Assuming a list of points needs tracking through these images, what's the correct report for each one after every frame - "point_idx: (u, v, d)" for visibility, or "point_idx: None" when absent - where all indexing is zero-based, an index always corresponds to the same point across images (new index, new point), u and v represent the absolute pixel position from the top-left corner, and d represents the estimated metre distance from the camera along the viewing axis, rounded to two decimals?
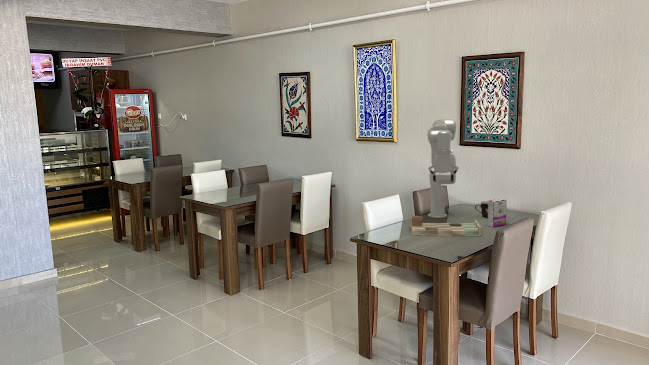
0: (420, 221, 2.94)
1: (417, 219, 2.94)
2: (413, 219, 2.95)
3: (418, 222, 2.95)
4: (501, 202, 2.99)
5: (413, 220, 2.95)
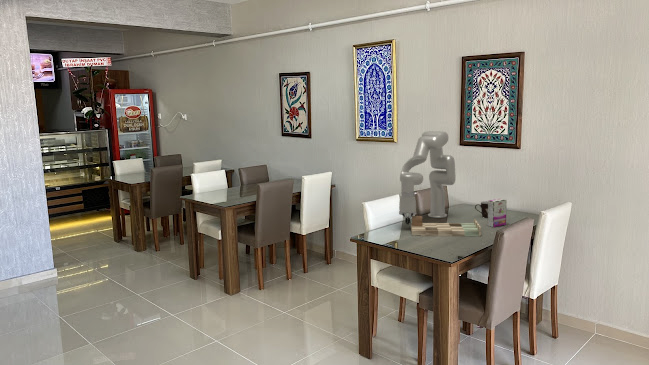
0: (420, 221, 2.94)
1: (417, 219, 2.94)
2: (413, 219, 2.95)
3: (418, 222, 2.95)
4: (501, 202, 2.99)
5: (413, 220, 2.95)
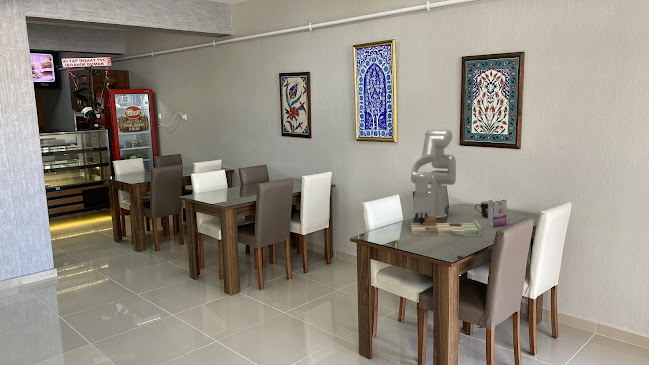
0: (434, 221, 2.93)
1: (431, 219, 2.93)
2: (427, 219, 2.93)
3: (432, 222, 2.93)
4: (501, 202, 2.99)
5: (427, 220, 2.93)
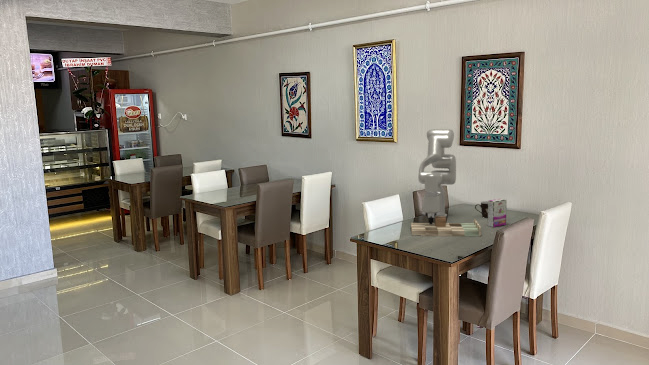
0: (444, 221, 2.91)
1: (441, 219, 2.92)
2: (436, 219, 2.92)
3: (442, 222, 2.92)
4: (501, 202, 2.99)
5: (437, 220, 2.92)
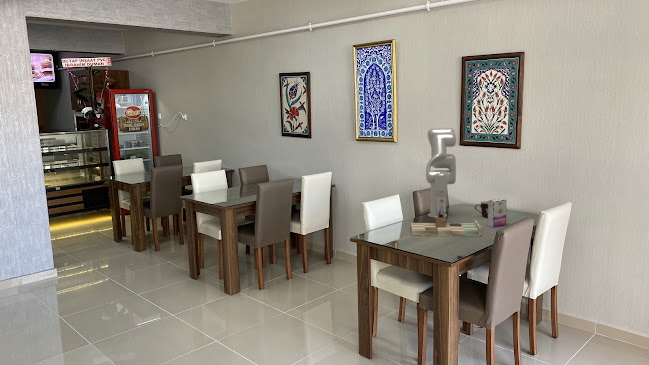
0: (444, 222, 2.90)
1: (441, 220, 2.90)
2: (437, 220, 2.90)
3: (442, 223, 2.90)
4: (501, 202, 2.99)
5: (437, 221, 2.90)
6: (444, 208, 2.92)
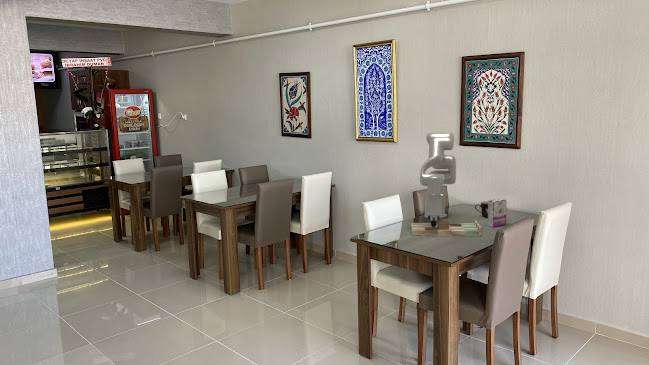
0: (447, 224, 2.85)
1: (444, 222, 2.85)
2: (439, 222, 2.85)
3: (445, 225, 2.85)
4: (501, 202, 2.99)
5: (440, 223, 2.85)
6: None
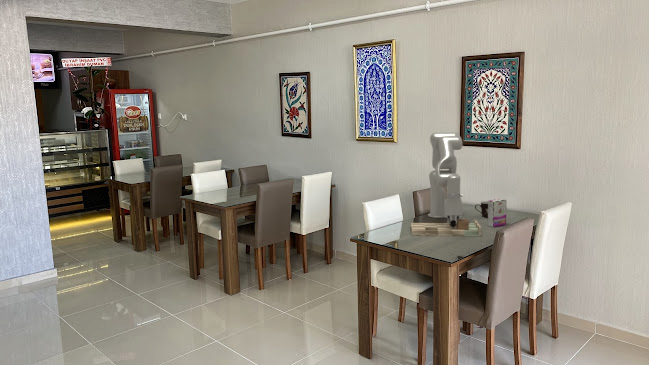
0: (466, 224, 2.83)
1: (463, 222, 2.83)
2: (459, 222, 2.83)
3: (464, 225, 2.83)
4: (501, 202, 2.99)
5: (459, 223, 2.83)
6: None
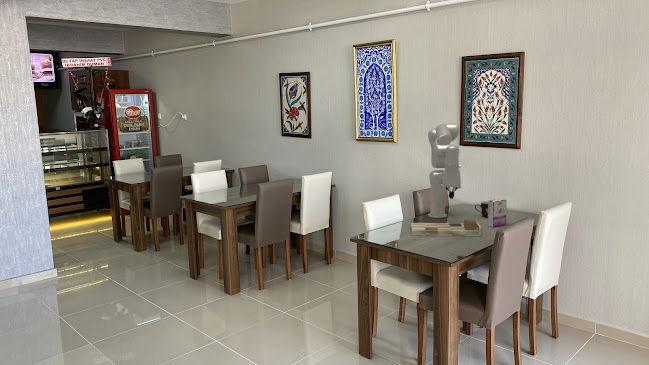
0: (474, 224, 2.82)
1: (471, 222, 2.82)
2: (467, 222, 2.83)
3: (472, 225, 2.83)
4: (501, 202, 2.99)
5: (467, 223, 2.83)
6: None
